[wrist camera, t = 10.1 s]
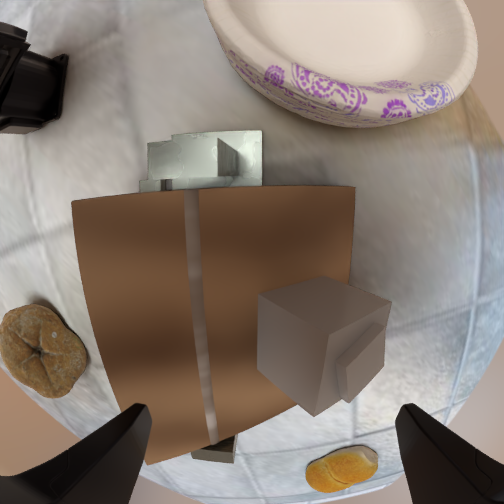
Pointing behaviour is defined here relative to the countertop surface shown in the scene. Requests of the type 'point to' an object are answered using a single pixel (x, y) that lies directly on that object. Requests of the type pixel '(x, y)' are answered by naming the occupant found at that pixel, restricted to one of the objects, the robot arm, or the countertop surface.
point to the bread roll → (342, 469)
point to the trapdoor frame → (205, 176)
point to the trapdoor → (201, 296)
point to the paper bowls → (350, 55)
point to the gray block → (321, 340)
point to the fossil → (41, 350)
